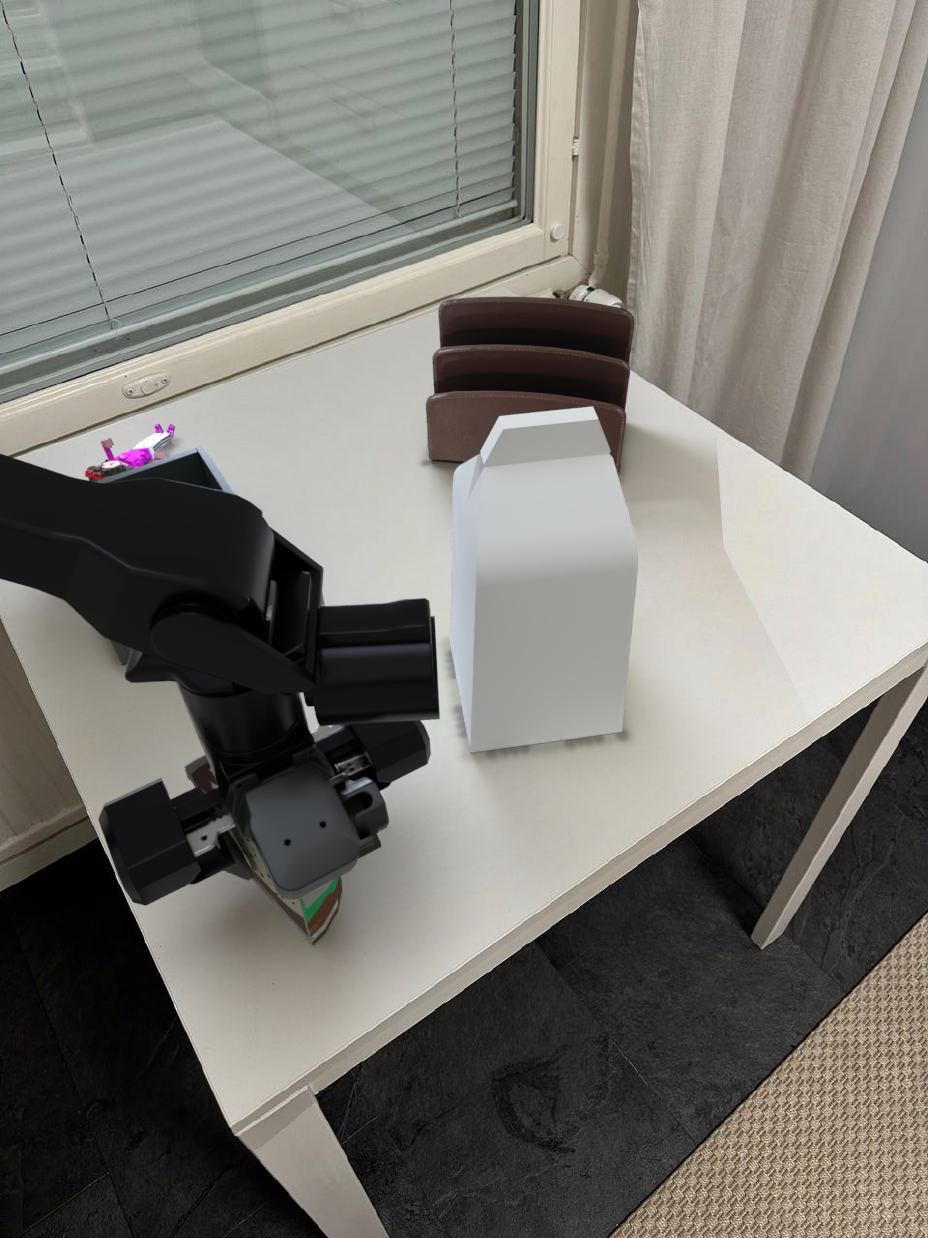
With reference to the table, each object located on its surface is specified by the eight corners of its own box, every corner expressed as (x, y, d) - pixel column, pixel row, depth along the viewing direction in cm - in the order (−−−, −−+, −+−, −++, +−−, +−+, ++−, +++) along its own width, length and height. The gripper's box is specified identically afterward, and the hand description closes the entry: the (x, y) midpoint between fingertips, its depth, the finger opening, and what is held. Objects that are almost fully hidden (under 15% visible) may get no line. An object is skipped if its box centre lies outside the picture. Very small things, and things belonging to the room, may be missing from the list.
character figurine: (148, 441, 98) (80, 497, 89) (139, 398, 95) (67, 453, 86) (194, 451, 97) (129, 510, 88) (187, 409, 93) (118, 465, 85)
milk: (470, 752, 69) (464, 488, 49) (449, 641, 76) (437, 375, 57) (621, 732, 70) (674, 465, 50) (586, 624, 77) (620, 357, 58)
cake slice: (399, 897, 59) (385, 821, 52) (327, 962, 57) (301, 893, 49) (287, 785, 65) (260, 703, 58) (217, 839, 63) (179, 761, 55)
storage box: (122, 665, 75) (96, 612, 70) (72, 550, 85) (47, 497, 80) (282, 600, 80) (269, 545, 75) (218, 498, 90) (203, 444, 85)
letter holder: (443, 406, 100) (438, 287, 89) (621, 419, 97) (638, 298, 87) (427, 461, 93) (420, 339, 83) (618, 476, 91) (636, 353, 80)
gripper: (115, 922, 39) (198, 1038, 51) (477, 740, 46) (477, 880, 57) (54, 743, 46) (140, 881, 57) (378, 605, 52) (396, 755, 64)
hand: (293, 850), depth 59 cm, fingers closed on cake slice, 6 cm apart
